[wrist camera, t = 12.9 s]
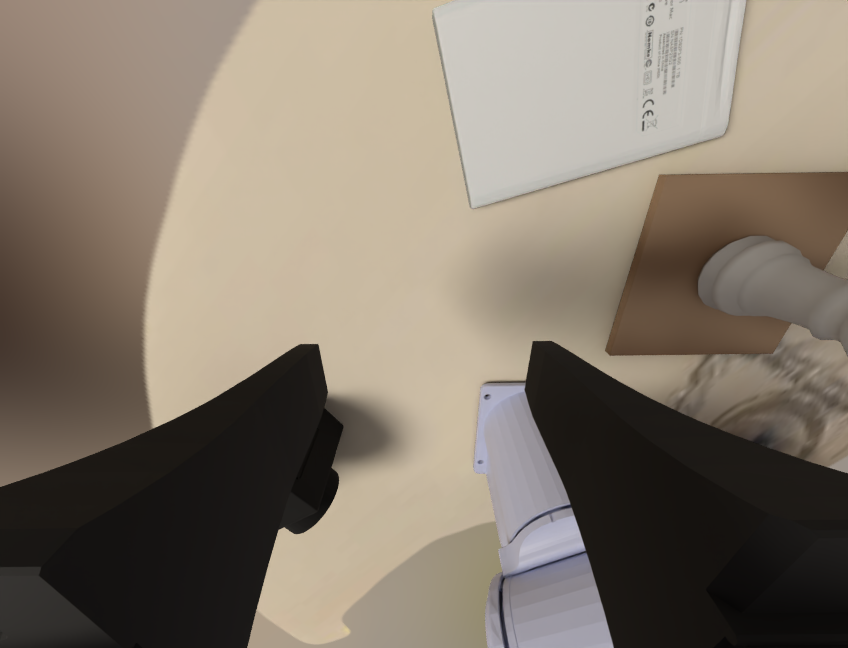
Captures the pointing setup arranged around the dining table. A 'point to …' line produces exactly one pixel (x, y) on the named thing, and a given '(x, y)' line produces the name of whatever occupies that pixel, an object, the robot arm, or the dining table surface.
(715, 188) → the walnut coaster
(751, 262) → the rook chess piece
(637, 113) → the external hard drive
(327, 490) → the digital camera
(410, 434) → the dining table surface
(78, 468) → the robot arm
